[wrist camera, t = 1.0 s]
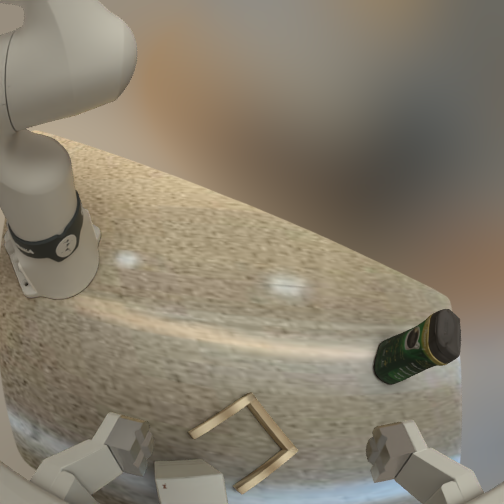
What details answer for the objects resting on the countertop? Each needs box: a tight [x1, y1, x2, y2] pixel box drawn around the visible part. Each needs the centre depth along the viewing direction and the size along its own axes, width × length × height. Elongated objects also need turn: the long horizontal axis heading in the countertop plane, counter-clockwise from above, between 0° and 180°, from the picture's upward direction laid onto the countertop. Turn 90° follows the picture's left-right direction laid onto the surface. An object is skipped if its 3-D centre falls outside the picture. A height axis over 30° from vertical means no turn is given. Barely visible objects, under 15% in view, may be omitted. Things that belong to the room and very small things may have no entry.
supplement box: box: [154, 459, 228, 504], centre depth 25 cm, size 7×7×13 cm
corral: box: [188, 392, 298, 494], centre depth 35 cm, size 11×12×2 cm
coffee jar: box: [375, 309, 461, 384], centre depth 44 cm, size 10×8×19 cm
